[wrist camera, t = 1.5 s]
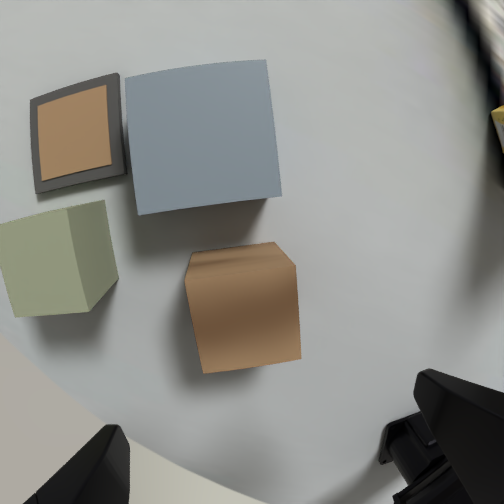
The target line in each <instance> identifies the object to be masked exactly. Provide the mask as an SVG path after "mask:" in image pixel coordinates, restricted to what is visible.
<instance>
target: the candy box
mask: <svg viewBox="0 0 504 504" xmlns="http://www.w3.org/2000/svg"><path fill="white" fill-rule="evenodd" d="M491 115H492V118H493V121H494V124H495V127H496V131H497V134H498V137H499V141H500V143H501V147H502V150H503V153H504V105H503V106H501V107H499V108H497V109H495V110H493V111H492V112H491Z"/></svg>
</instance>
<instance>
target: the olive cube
mask: <svg viewBox="0 0 504 504" xmlns="http://www.w3.org/2000/svg"><path fill="white" fill-rule="evenodd" d="M0 266H1V270H2V274H3V278H4V282H5V285H6V289H7V293H8V296H9V299H10V303H11V306H12V309H13V312H14V315H15V317H29V316H43V315H57V314H69V313H81V312H89V311H90V310H91V309H92V308H93V307H94V306H95V304H96V303H97V302H98V301H99V300H100V299H101V298H102V296H103V295H104V294H105V293H106V292H107V291H108V290H109V289H110V287H111V286H112V285H113V284H114V283H115V282H116V281H117V280H118V279H119V276H118V272H117V267H116V262H115V257H114V252H113V247H112V242H111V236H110V230H109V225H108V218H107V212H106V206H105V200H101V201H95V202H90V203H85V204H81V205H76V206H71V207H66V208H62V209H57V210H53V211H48V212H44V213H40V214H36V215H32V216H28V217H25V218H21V219H17V220H14V221H10V222H7V223H3V224H0Z"/></svg>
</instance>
